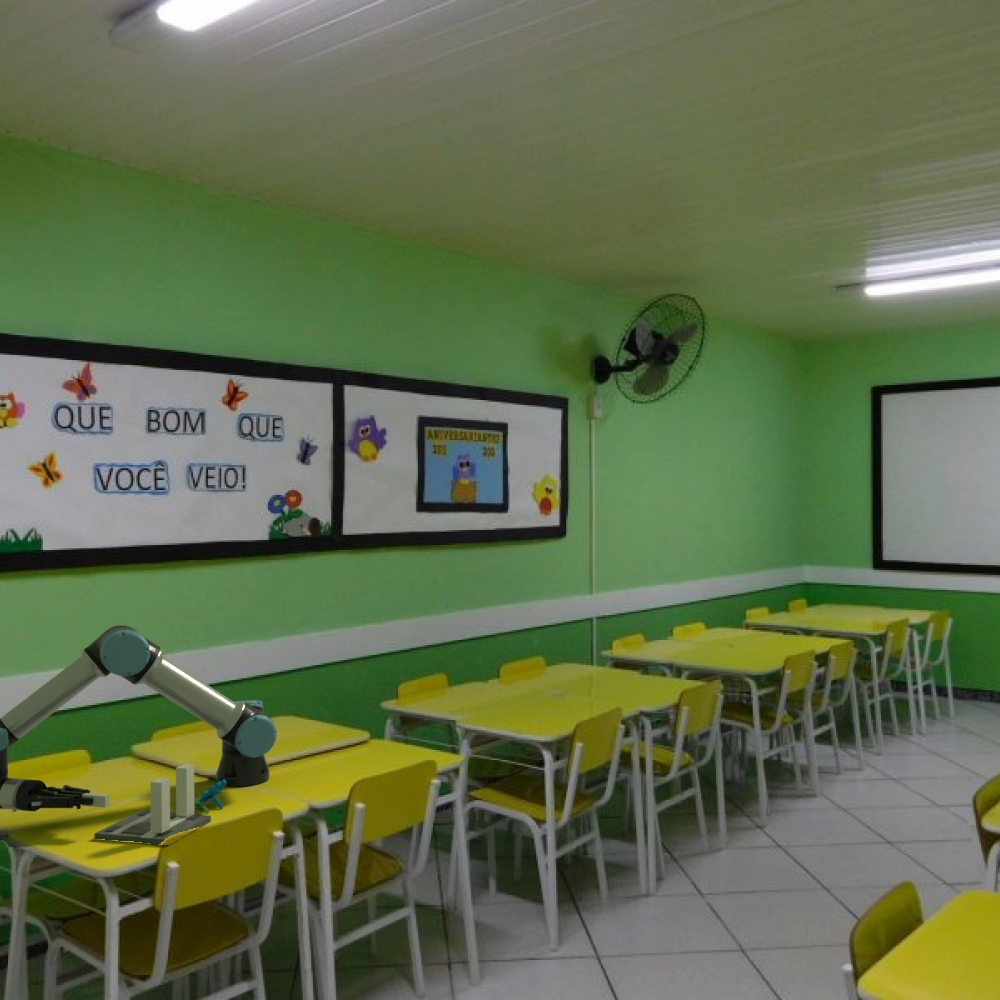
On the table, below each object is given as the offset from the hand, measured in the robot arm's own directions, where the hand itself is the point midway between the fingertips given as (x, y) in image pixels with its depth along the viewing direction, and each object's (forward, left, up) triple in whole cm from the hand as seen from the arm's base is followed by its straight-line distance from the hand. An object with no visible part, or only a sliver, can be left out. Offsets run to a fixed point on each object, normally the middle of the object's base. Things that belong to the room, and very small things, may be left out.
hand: (107, 801), depth 243 cm
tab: (-10, +10, -6) cm, 16 cm away
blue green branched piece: (-27, -9, -8) cm, 30 cm away
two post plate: (-11, +3, -8) cm, 14 cm away
